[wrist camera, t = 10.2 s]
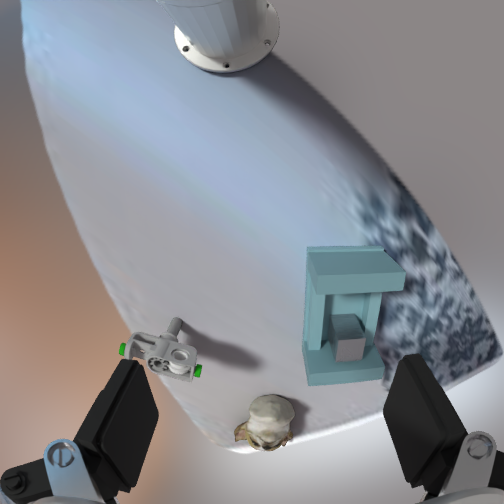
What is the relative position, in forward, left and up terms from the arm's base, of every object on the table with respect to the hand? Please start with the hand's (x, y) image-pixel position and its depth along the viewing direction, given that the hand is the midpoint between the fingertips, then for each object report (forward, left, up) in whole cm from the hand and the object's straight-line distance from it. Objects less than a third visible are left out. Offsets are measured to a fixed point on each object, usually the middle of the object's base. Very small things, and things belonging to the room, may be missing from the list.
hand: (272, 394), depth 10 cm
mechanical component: (+15, -13, -28) cm, 35 cm away
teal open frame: (+12, +10, -28) cm, 32 cm away
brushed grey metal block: (+15, +10, -27) cm, 33 cm away
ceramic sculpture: (+35, 0, -29) cm, 45 cm away
